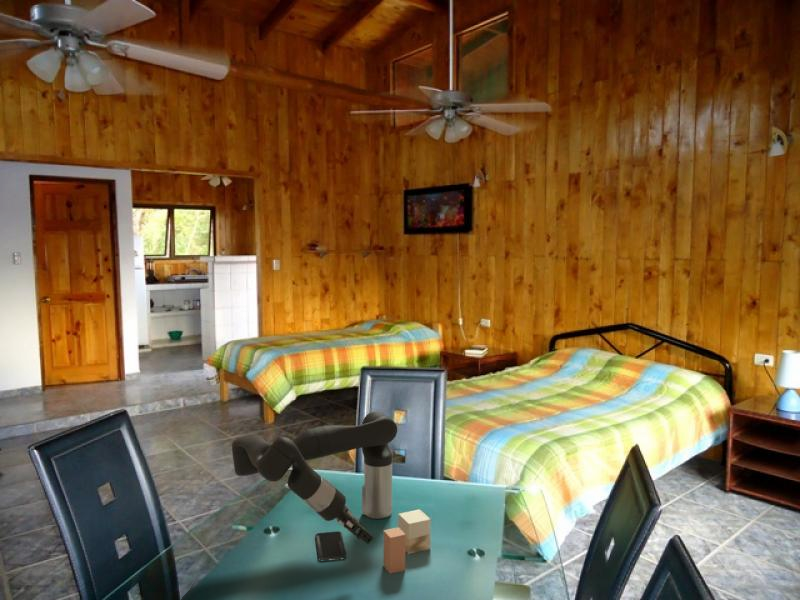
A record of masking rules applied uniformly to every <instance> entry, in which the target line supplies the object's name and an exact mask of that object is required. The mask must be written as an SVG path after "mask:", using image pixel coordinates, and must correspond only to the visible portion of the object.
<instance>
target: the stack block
mask: <svg viewBox="0 0 800 600" xmlns="http://www.w3.org/2000/svg"><path fill="white" fill-rule="evenodd" d="M405 548H406V534H405V533H404V532H403V531H402V530H401V529H400V528H399V527H398V526H397V527H392V528H389V529H385V530H384V529H383V551H382V552H383V558H382V559H383V560H382V561H383V565H384V566H385V567H384V566H383V567H384V568H385V569H386V571H387V570H388V571H387V572H388V573H389V574H390V573H391V574H394V572H395V573H399V572H402V570H403V571H406V551H405Z"/></svg>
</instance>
